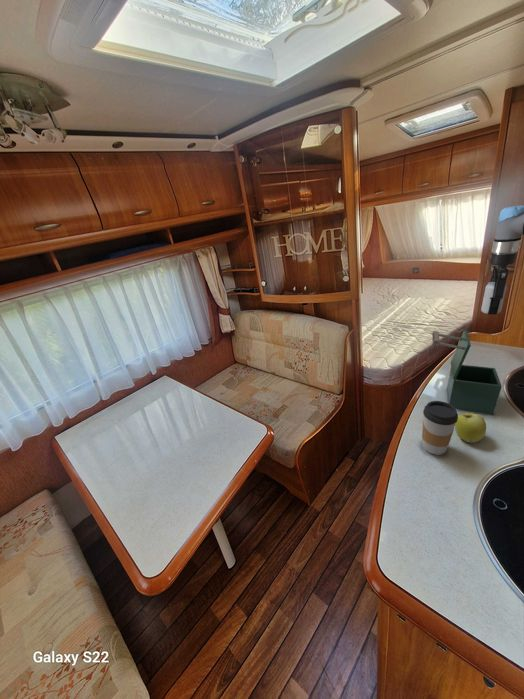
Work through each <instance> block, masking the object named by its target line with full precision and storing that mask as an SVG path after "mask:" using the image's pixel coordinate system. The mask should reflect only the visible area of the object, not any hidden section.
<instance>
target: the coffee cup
mask: <svg viewBox="0 0 524 699" xmlns="http://www.w3.org/2000/svg"><path fill="white" fill-rule="evenodd" d="M457 411H458V410H457V409H455V408H454V407H453V406H452V405H450V404H448V402H446V401H442V400H432V401H429V402H427V403H426V405H424V407H423V411H422V412H423V420H422V433H421V438H422V439H421V444H422V447H423V449H424V450H425V451H426V452H427V453H429V454H432V455H437V456H440V455H443V454H445V453H446V452H447V449H448V446H449V445H450V442H451V439H452V437H453V433H454V430H455V423H456V422H457V420H458V416H459V414H458V412H457Z"/></svg>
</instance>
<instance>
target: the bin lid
mask: <svg viewBox="0 0 524 699" xmlns="http://www.w3.org/2000/svg"><path fill="white" fill-rule="evenodd" d="M431 335H432V345H433V346H434V347H438V346H444V347H448V348H454V349H455V351H454V353H453V355H452V358H451V360H450V370H451V369H452V377H453V379H456V377H457V375H458V373H459V371H460V368H461V366H462V365H464V362H465V360H466V357H467V355H468V353H469V351H470V348H471V347H472V345H471V340H470V337H469V333H468V330H467V329H465V330H463V332H462V334H461V336H460V337H459V336H455V335H454V336H453V335H449V334H443V333H439V331H436V330H435V331H432V334H431ZM440 337H442V338H447V339H452V340H458V344H457V345H456V344H452V343H451V344H450V343H446V342H441V341H440Z"/></svg>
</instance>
